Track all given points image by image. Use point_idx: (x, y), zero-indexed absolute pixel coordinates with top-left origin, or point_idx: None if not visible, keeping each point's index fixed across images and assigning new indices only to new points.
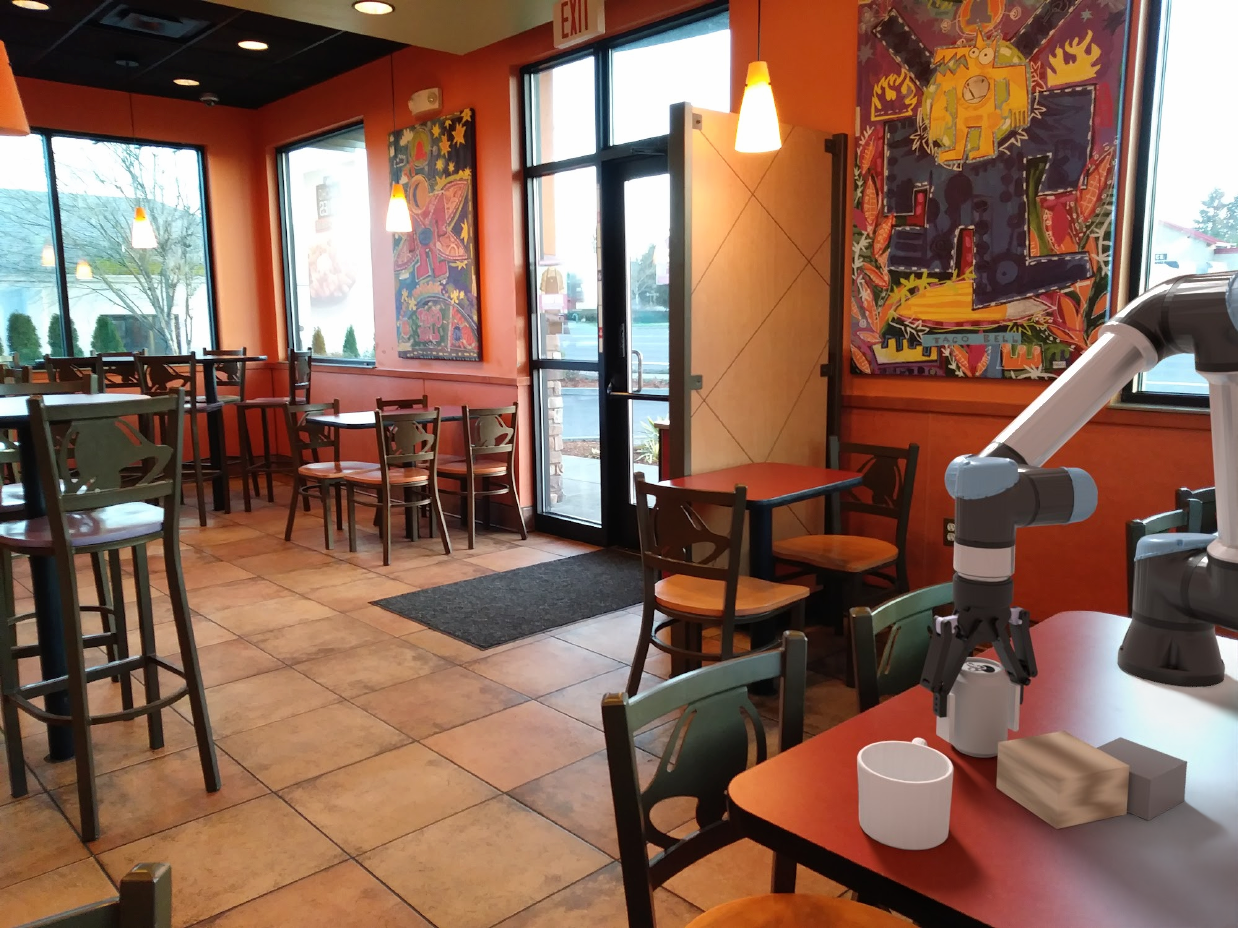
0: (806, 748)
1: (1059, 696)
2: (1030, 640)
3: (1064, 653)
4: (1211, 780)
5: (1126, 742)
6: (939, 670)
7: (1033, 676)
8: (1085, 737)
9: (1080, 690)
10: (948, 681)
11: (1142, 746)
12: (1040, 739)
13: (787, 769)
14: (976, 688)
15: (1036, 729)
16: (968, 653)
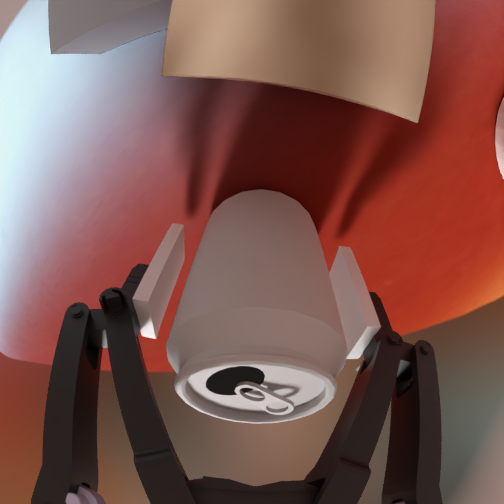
0: (442, 320)
1: (43, 288)
2: (48, 413)
3: (20, 333)
4: (20, 27)
5: (60, 27)
6: (430, 393)
7: (82, 305)
8: (60, 186)
9: (21, 285)
10: (394, 364)
11: (53, 8)
12: (292, 58)
13: (488, 292)
14: (336, 325)
15: (111, 238)
16: (344, 448)
